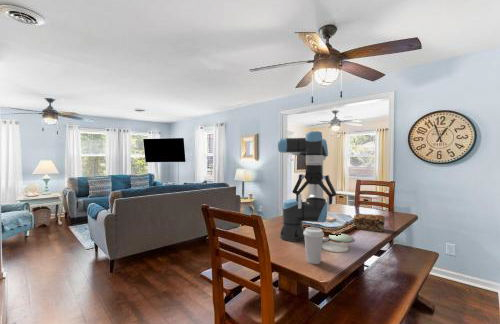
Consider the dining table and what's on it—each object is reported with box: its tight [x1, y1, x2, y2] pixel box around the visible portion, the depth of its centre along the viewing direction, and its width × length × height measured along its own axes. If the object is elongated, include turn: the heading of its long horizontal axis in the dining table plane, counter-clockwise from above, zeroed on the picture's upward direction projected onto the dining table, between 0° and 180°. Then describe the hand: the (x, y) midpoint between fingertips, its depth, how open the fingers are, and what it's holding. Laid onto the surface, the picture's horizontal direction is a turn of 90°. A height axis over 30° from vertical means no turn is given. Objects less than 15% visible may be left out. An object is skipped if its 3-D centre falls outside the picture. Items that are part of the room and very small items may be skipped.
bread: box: [353, 213, 386, 233], centre depth 170 cm, size 19×11×10 cm, turn 58°
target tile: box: [322, 236, 331, 243], centre depth 148 cm, size 7×7×1 cm
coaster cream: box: [322, 241, 349, 254], centre depth 135 cm, size 14×14×1 cm
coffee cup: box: [303, 226, 325, 265], centre depth 117 cm, size 10×10×15 cm
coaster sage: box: [328, 233, 354, 243], centre depth 150 cm, size 14×14×1 cm
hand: (313, 209), depth 117 cm, fingers open, 13 cm apart
